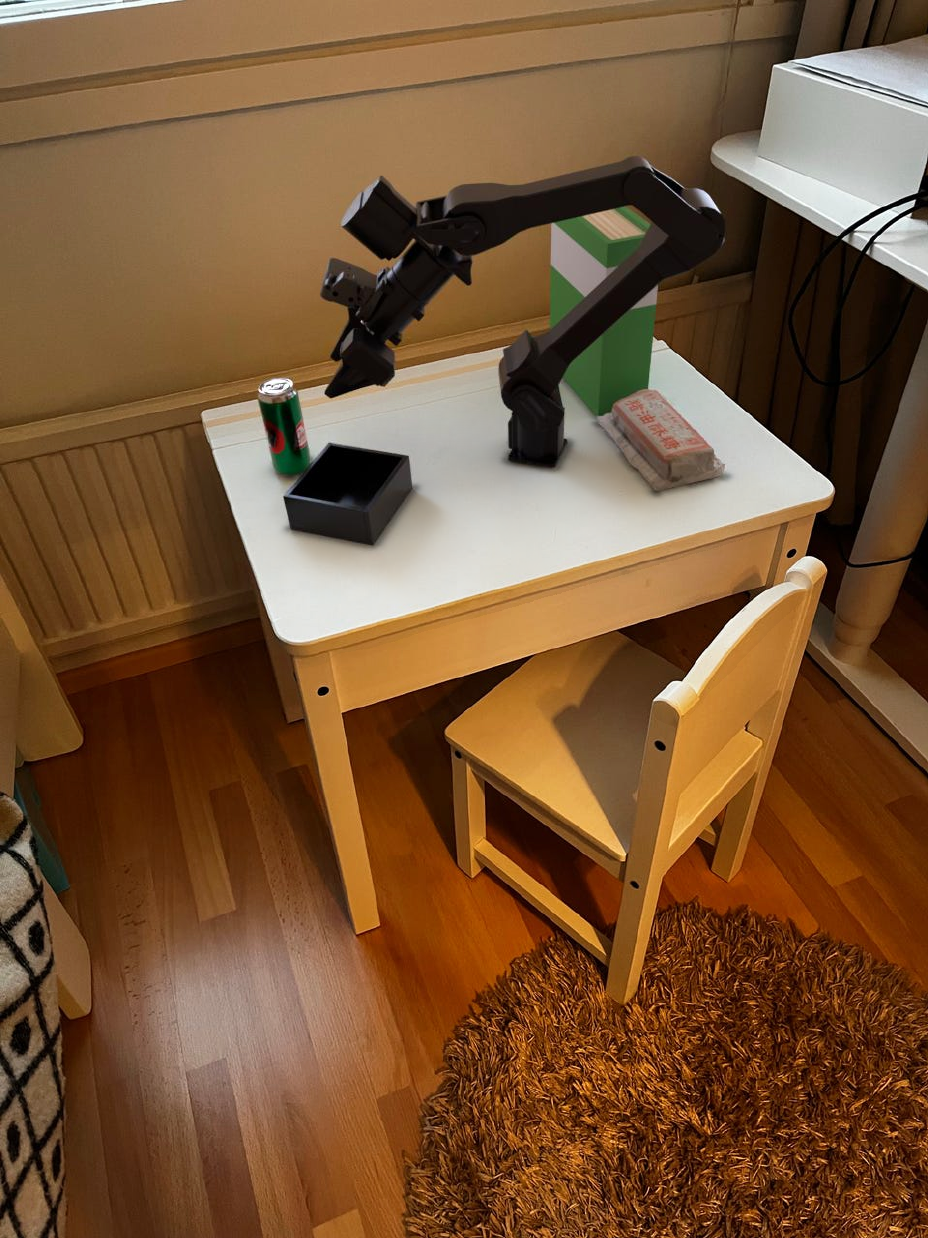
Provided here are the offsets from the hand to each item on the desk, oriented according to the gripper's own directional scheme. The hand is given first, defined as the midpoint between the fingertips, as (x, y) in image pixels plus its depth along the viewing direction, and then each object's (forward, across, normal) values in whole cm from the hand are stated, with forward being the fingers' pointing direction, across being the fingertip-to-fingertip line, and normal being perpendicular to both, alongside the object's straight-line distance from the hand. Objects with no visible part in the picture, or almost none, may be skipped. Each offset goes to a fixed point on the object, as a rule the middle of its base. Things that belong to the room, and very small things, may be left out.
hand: (330, 376), depth 113 cm
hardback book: (-16, -17, +34) cm, 42 cm away
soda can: (+14, 0, +4) cm, 15 cm away
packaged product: (-20, +1, +38) cm, 44 cm away
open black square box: (+8, +10, +10) cm, 16 cm away
